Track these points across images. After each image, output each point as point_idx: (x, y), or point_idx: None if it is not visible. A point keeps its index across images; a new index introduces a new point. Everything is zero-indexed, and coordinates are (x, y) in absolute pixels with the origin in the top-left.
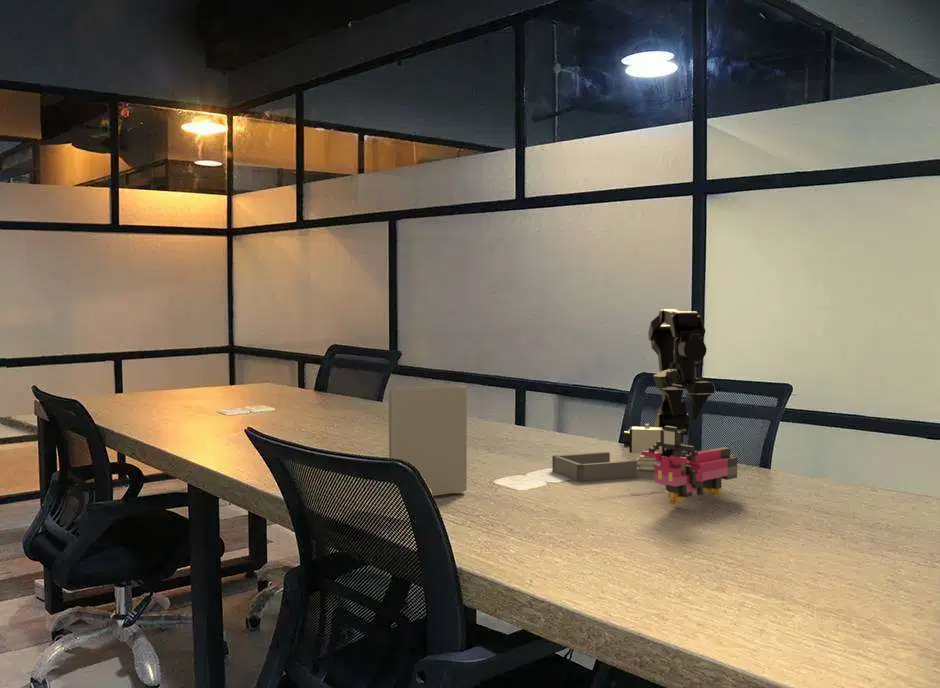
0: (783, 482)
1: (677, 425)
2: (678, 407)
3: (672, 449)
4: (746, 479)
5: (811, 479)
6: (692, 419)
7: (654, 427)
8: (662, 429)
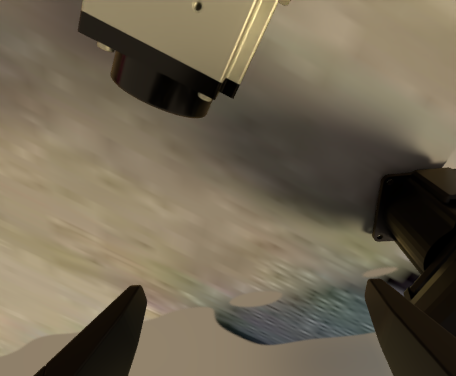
0: (27, 268)
1: (429, 287)
2: (395, 369)
3: (399, 210)
4: (54, 221)
5: (64, 320)
6: (131, 285)
7: (232, 10)
8: (103, 24)
